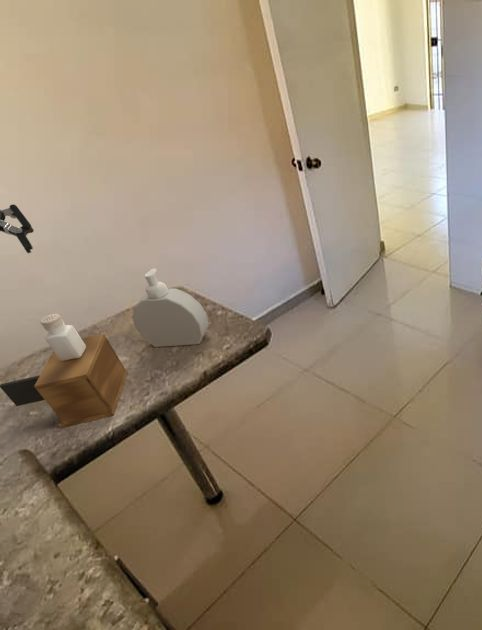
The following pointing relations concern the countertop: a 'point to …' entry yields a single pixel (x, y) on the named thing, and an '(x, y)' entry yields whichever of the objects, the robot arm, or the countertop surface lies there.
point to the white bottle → (62, 338)
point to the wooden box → (83, 383)
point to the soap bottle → (169, 315)
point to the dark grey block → (22, 391)
